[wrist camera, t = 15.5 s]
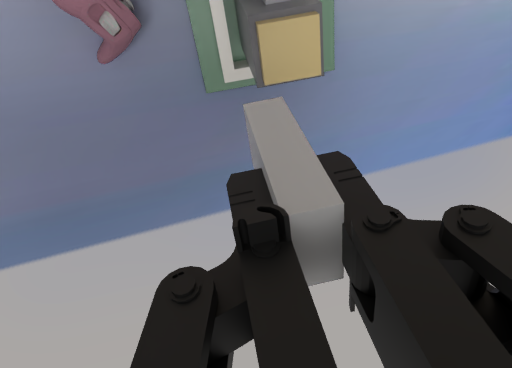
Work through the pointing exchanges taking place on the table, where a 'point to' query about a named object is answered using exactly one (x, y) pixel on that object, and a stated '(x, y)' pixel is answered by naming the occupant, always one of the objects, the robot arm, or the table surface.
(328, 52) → the green square tray
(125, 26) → the video game controller
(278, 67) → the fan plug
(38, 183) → the table surface
